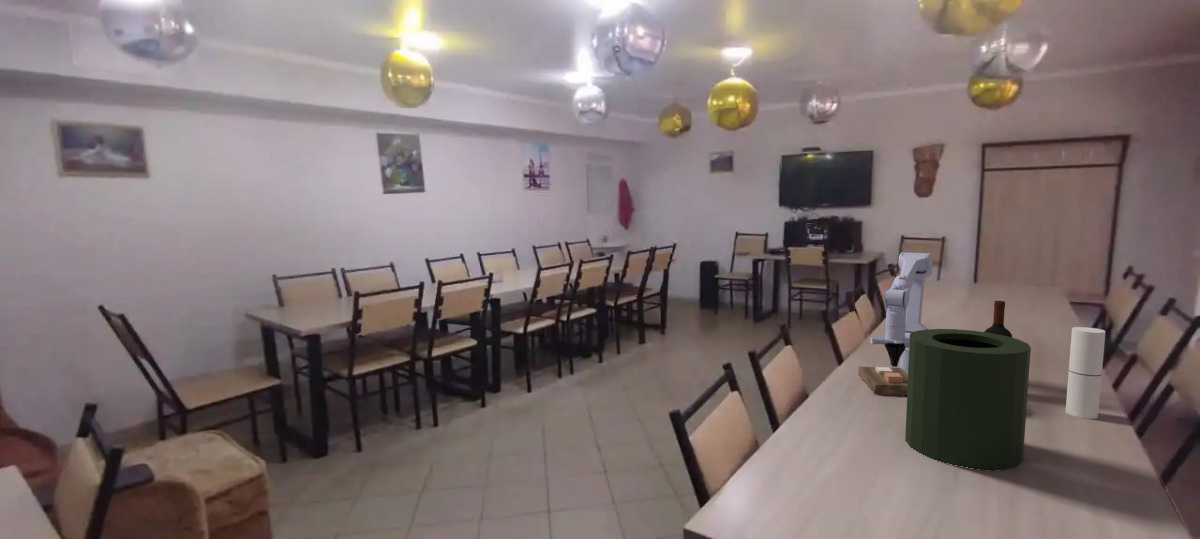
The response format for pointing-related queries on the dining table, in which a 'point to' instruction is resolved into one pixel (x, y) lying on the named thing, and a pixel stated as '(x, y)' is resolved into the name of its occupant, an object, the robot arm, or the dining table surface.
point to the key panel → (883, 381)
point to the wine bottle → (999, 320)
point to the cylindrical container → (1085, 372)
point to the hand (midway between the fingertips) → (893, 365)
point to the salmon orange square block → (893, 377)
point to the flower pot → (967, 397)
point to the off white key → (883, 369)
